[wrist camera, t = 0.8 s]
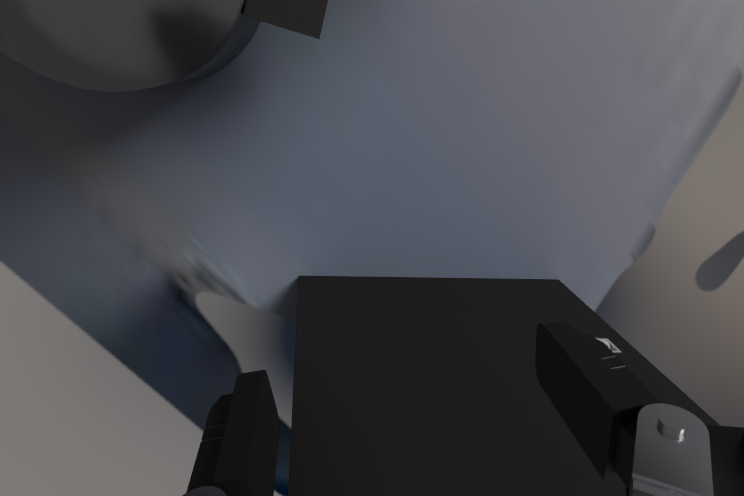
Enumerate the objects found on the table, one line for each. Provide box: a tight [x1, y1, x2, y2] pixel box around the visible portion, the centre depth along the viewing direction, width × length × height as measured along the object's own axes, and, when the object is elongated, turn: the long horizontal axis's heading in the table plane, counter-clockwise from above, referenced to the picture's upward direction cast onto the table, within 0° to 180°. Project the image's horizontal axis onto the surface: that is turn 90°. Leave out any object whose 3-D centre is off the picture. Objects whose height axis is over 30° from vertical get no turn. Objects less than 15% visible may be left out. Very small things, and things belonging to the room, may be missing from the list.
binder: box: [288, 276, 720, 496], centre depth 34 cm, size 27×15×32 cm, turn 84°
